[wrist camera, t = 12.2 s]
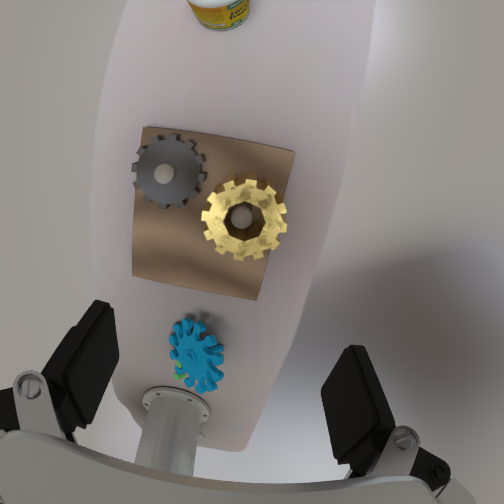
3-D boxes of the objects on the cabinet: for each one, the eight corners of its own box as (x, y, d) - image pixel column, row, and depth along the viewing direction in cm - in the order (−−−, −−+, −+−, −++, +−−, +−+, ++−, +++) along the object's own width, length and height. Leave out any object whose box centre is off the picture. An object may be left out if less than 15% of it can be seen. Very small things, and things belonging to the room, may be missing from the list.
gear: (187, 304, 32) (229, 378, 28) (222, 298, 36) (262, 363, 32) (154, 345, 37) (186, 406, 33) (186, 338, 42) (216, 393, 37)
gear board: (256, 294, 33) (257, 319, 29) (135, 270, 32) (120, 291, 28) (293, 151, 26) (301, 155, 22) (147, 126, 25) (128, 127, 20)
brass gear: (292, 229, 28) (298, 245, 25) (225, 252, 29) (221, 270, 26) (267, 161, 25) (270, 166, 22) (196, 188, 26) (187, 198, 23)
